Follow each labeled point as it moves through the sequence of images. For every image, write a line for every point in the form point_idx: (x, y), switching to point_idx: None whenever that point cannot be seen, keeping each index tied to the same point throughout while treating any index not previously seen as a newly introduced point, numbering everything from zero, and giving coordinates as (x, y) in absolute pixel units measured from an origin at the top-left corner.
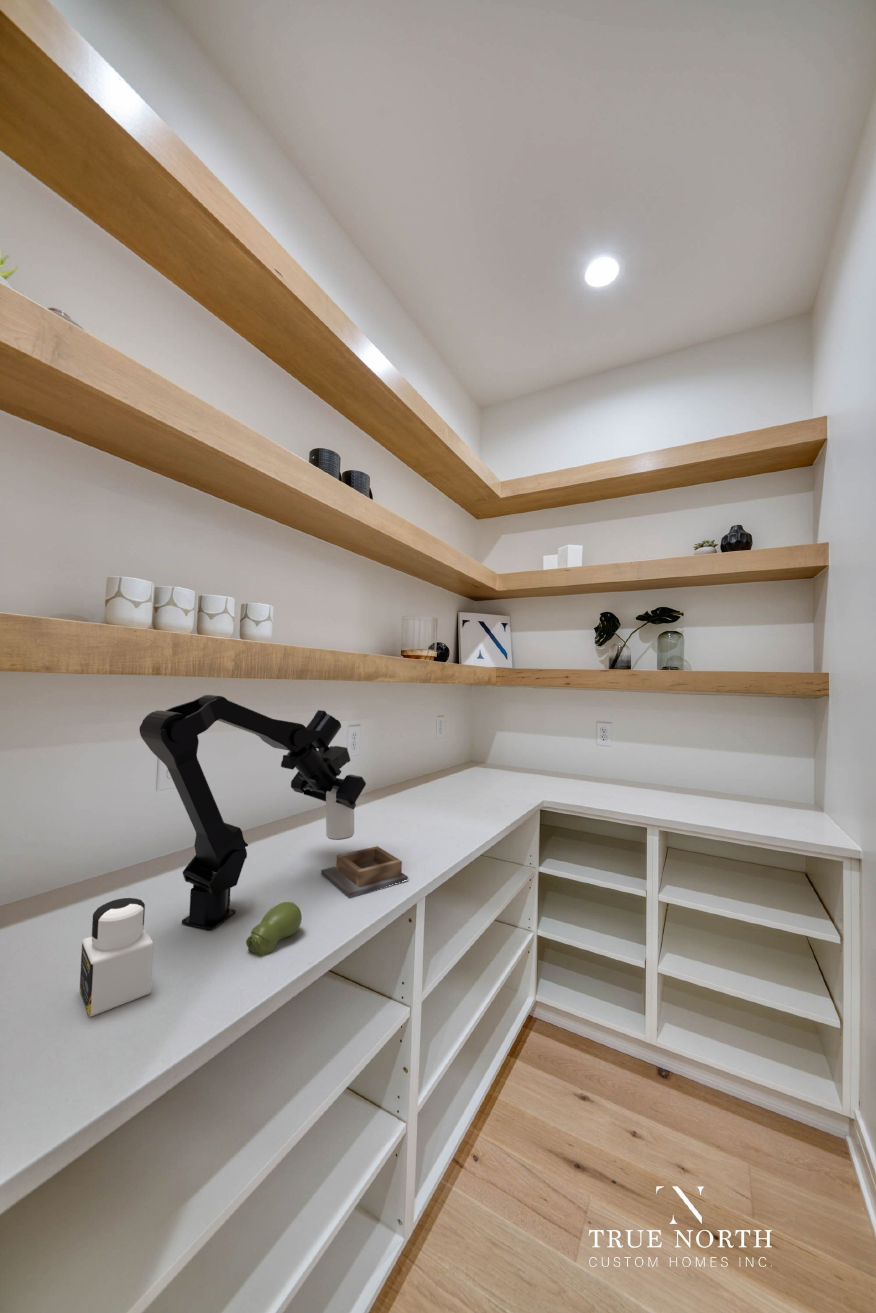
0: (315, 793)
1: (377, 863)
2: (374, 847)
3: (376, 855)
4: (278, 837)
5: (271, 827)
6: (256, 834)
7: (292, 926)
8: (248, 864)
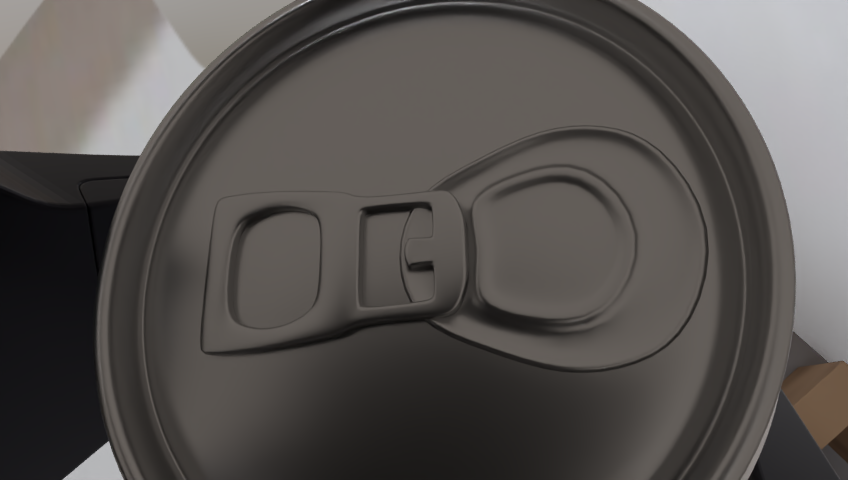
0: (16, 465)
1: (834, 450)
2: (828, 393)
3: (843, 438)
4: (141, 112)
5: (89, 8)
6: (43, 102)
7: None
8: (72, 475)
